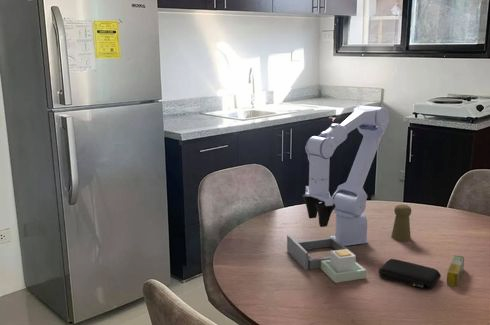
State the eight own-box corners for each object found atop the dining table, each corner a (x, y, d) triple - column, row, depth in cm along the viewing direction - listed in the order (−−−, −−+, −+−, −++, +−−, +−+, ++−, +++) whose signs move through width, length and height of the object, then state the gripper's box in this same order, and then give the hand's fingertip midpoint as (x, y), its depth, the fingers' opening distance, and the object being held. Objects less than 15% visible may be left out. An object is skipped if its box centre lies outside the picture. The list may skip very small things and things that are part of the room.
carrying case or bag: (373, 279, 130) (430, 295, 122) (374, 269, 129) (431, 284, 121) (388, 265, 138) (442, 279, 130) (388, 255, 138) (442, 268, 129)
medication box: (453, 268, 136) (454, 254, 135) (463, 269, 135) (464, 256, 134) (446, 285, 126) (447, 271, 125) (457, 288, 125) (458, 273, 124)
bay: (349, 264, 139) (349, 256, 138) (365, 278, 130) (366, 270, 130) (320, 268, 136) (320, 260, 136) (335, 282, 128) (335, 274, 127)
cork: (406, 242, 154) (409, 209, 151) (388, 238, 157) (390, 206, 155) (413, 237, 158) (415, 204, 156) (395, 233, 162) (397, 201, 159)
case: (332, 244, 153) (333, 229, 151) (355, 262, 140) (355, 246, 138) (287, 250, 148) (287, 235, 147) (305, 269, 135) (305, 253, 134)
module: (346, 265, 136) (346, 247, 135) (355, 273, 131) (355, 255, 130) (329, 268, 134) (330, 250, 133) (338, 275, 130) (338, 257, 129)
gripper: (296, 172, 147) (296, 215, 150) (316, 185, 133) (315, 231, 136) (318, 171, 149) (317, 213, 152) (340, 183, 135) (338, 229, 138)
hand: (317, 222), depth 144 cm, fingers open, 7 cm apart
